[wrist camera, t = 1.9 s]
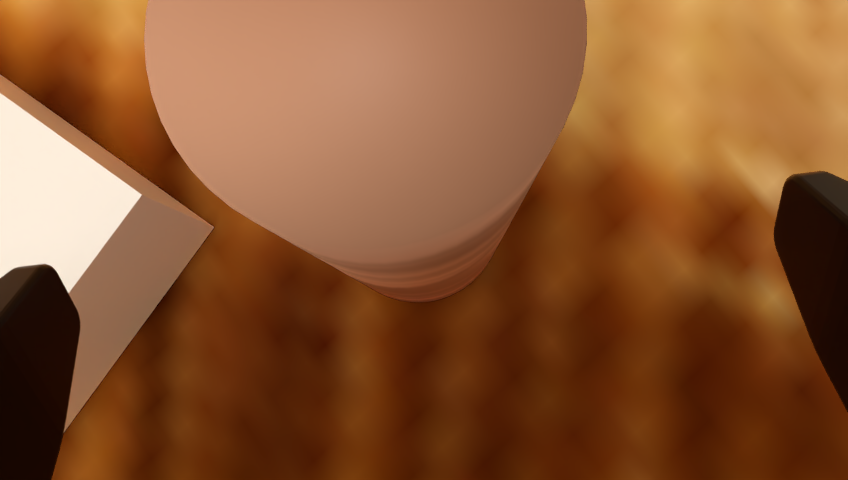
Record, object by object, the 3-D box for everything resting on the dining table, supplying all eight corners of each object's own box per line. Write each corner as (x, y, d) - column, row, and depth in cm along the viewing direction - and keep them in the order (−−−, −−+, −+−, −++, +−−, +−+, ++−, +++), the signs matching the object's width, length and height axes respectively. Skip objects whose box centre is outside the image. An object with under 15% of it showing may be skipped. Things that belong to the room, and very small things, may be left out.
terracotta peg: (438, 335, 19) (418, 339, 7) (303, 240, 19) (56, 83, 7) (532, 199, 19) (673, -28, 7) (398, 108, 19) (315, -254, 7)
